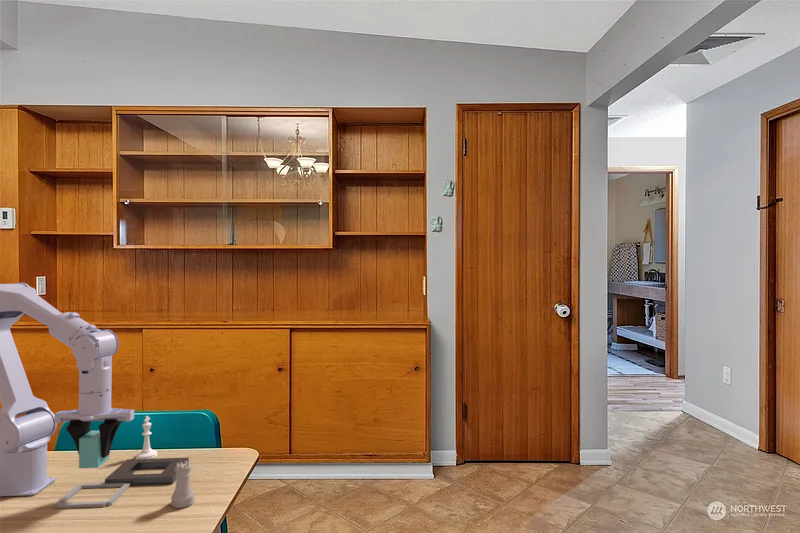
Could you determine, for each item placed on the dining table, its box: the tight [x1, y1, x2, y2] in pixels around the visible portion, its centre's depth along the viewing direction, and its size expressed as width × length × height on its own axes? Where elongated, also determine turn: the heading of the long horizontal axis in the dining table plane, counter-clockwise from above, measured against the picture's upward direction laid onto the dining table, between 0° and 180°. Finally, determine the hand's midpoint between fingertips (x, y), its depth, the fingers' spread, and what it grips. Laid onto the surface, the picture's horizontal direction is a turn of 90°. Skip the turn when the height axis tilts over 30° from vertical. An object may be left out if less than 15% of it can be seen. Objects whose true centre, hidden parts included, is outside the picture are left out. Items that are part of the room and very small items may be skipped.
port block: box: [104, 457, 190, 486], centre depth 112 cm, size 14×11×2 cm
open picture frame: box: [53, 482, 132, 509], centre depth 101 cm, size 11×10×1 cm
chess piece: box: [135, 415, 158, 459], centre depth 123 cm, size 5×5×10 cm
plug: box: [78, 429, 110, 469], centre depth 101 cm, size 4×5×6 cm
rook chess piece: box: [170, 461, 195, 509], centre depth 99 cm, size 4×4×8 cm
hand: (94, 456), depth 102 cm, fingers closed on plug, 4 cm apart
